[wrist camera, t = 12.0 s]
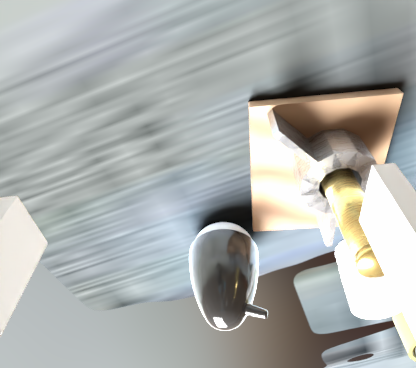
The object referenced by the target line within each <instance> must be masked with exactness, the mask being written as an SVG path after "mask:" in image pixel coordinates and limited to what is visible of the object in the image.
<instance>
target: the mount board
mask: <svg viewBox="0 0 416 368" xmlns="http://www.w3.org/2000/svg"><path fill="white" fill-rule="evenodd" d="M403 94H404V93H403V92H401V91H400V90H399V89H398V88H391V89H380V90H369V91H358V92H347V93H336V94H326V95H315V96H304V97H293V98H282V99H271V100H260V101H249V102H248V104H249V136H250V167H251V199H252V226H253V232H254V231H271V230H288V229H304V228H319V225H318V222H317V214H318V211H317V210H315V209H312V208H309V207H308V205H307V204H306V202H305V201H304V200H303V198H302V197H301V196H300V193H299V190H298V186H297V183H296V180H295V177H294V174H293V155H294V152H292V151H291V150H290V149H288V148H287V147H286V146H285V145H283V144H282V143H281V142H280V141H278V140H277V139H276V138H275V137H273V134H272V130H271V127H270V123H269V120H268V116H267V113H268V112H269V111H270V110H271V109H273V110H274V111H275V112H276V113H278V114H279V115H280V116H281V117H282V118H284V119H285V120H286V121H287V122H288V123H290V124H291V125H292V126H293V127H294V128H296V129H297V130H298V131H299V132H300V133H302V134H303V135H304V136H305V137H306V138H309V137H311V136H313V135H314V134H316V133H318V132H320V131H322V130H330V129H342V128H343V129H345V130H347V131H349V132H352V133H354V134H356V135H359V137H360V138H361V139H362V141H363V142H364V144H365V145H366V147H367V148H368V150H369V151H370V153H371V154H372V156H373V157H374V159H375V161H376V163H377V165H378V164H384V163H385V159H386V156H387V152H388V148H389V145H390V141H391V137H392V134H393V130H394V126H395V123H396V119H397V115H398V112H399V108H400V104H401V101H402V97H403ZM337 226H339V225H338V223H336V227H337Z"/></svg>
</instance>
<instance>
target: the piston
mask: <svg viewBox="0 0 416 368" xmlns="http://www.w3.org/2000/svg"><path fill="white" fill-rule="evenodd" d="M392 317H393V321H394V324H395V326H396V328H397V330H398V333H399V335H400V337H401V339H402V342H403V344H404V346H405V348H406V350H407V353H408V355H409V357H410V358H411V359H412V360H414V361H416V354H415V348H416V340H415V337H414V335H413V333H412V331H411V329H410V327H409V325H408V323H407V321H406V318H405V316H404V314H403V312H402V311H401V312H400V313H398V314H396V315H393V316H392Z"/></svg>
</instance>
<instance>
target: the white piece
mask: <svg viewBox="0 0 416 368" xmlns="http://www.w3.org/2000/svg"><path fill="white" fill-rule="evenodd" d="M267 116H268V120H269V123H270V127H271V130H272V134H273V137H275V138H276V139H277V140H278V141H280V142H281V143H282V144H283V145H285V146H286V147H287V148H288V149H290V150H291V151H292V152H294V155H293V174H294V177H295V180H296V183H297V186H298V190H299V193H300V196H301V197H302V198H303V200H304V201H305V202H306V204H307V205H308V207H309V208H312V209H315V210H317V211H318V214H317V222H318V225H319V228H320V231H321V233H322V236H323V239H324V242H325V245H326V246H332V244H333V239H334V234H335V228H336V223H337V220H336V218H335V215H334V213H333V211H332V208H331V206H330V203H329V201H328V199H327V196H326V194H325V191H324V189H323V187H322V184H321V182H320V181H321V180H322V179H323V178H324V176H325V175H326V174H328V173H330V172H332V171H334V170H336V169H341V168H350V169H351V170H352V172H353V174H354V175H355V177H356V179H357V181H358V183H359V184H360V186H361V188H362V190H363V191H364V193H365V192H366V188H367V184H368V180H369V176H370V171H371V167H372V165H377V163H376V161H375V159H374V157H373V156H372V154H371V153H370V151H369V150H368V148H367V147H366V145H365V144H364V142H363V141H362V139H361V138H360V137H359V135H356V134H354V133H352V132H349V131H347V130H345V129H343V128H342V129H330V130H322V131H320V132H318V133H316V134H314V135H313V136H311V137H309V138H306V137H305V136H304V135H303V134H302V133H300V132H299V131H298V130H297V129H296V128H294V127H293V126H292V125H291V124H290V123H288V122H287V121H286V120H285V119H284V118H282V117H281V116H280V115H279V114H278V113H276V112H275V111H274V110H273V109H271V110H270V111H269V112H268V113H267Z"/></svg>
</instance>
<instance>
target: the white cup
mask: <svg viewBox="0 0 416 368" xmlns="http://www.w3.org/2000/svg"><path fill="white" fill-rule="evenodd" d="M335 257H336V260H337V263H338V267H339V272H340V275H341V279H342V283H343V286H344V289H345V293H346V296H347V299H348V303H349V306H350V309H351V312H352V313H353V314H354V315H355V316H357V317H360V318H363V319H382V318H387V317H390V316H393V315H396V314H398V313H400V312H401V311H402V310H401V308H400V306H399V304H398V302H397V300H396V297H395V295H394V293H393V291H392V289H391V287H390V285H389V283H388V281H387V278H386V276H382V277H375V278H370V277H365V276H362V275H361V274H359V273H358V271H357V268H356V266H355V264H354V261H353V259H352V256H351V254H350V252H349V249H348V247H347V244H346V242H345V240H343V241H341V242H340V243H339V244H338V245H337V247H336V248H335Z"/></svg>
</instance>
